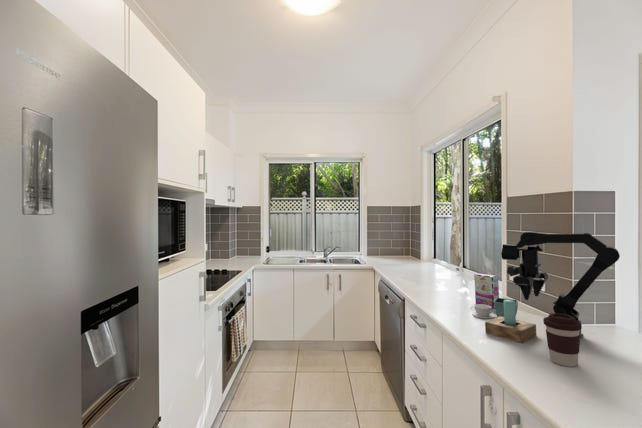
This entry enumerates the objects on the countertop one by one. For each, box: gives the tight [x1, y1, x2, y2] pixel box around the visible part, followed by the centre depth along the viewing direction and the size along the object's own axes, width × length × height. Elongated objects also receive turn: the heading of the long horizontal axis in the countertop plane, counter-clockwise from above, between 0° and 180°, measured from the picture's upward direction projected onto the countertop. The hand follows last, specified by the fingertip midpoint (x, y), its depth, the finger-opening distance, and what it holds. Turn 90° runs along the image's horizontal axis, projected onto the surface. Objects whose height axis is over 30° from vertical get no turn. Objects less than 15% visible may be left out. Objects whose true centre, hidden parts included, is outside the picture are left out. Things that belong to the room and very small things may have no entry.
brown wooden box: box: [484, 316, 537, 344], centre depth 127 cm, size 14×12×4 cm
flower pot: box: [494, 297, 519, 317], centre depth 144 cm, size 9×9×9 cm
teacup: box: [471, 303, 496, 319], centre depth 152 cm, size 10×10×5 cm
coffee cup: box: [543, 312, 583, 368], centre depth 102 cm, size 10×10×15 cm
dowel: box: [504, 299, 517, 327], centre depth 127 cm, size 4×4×13 cm
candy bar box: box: [473, 272, 500, 309], centre depth 168 cm, size 11×5×16 cm, turn 25°
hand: (531, 298), depth 132 cm, fingers open, 9 cm apart
